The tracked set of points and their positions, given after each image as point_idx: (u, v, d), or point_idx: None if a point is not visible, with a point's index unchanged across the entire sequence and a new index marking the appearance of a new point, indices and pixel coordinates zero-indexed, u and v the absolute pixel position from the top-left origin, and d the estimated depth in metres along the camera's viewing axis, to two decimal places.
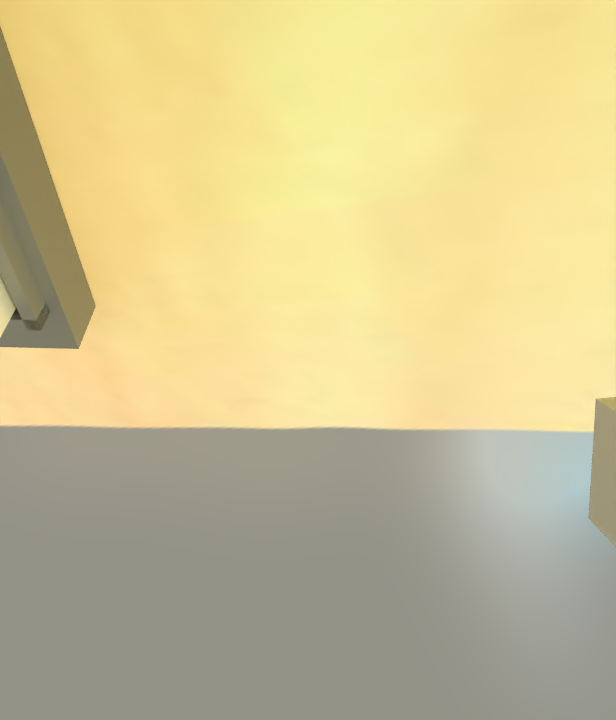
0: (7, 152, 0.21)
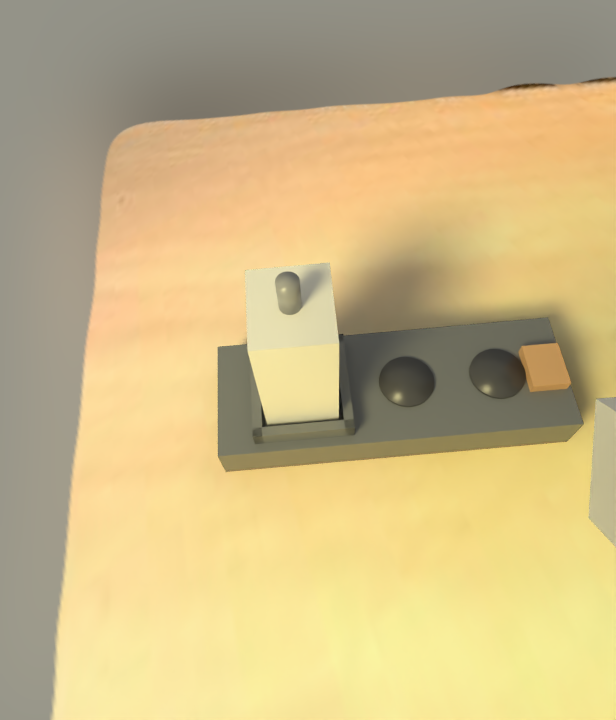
0: (370, 445, 0.37)
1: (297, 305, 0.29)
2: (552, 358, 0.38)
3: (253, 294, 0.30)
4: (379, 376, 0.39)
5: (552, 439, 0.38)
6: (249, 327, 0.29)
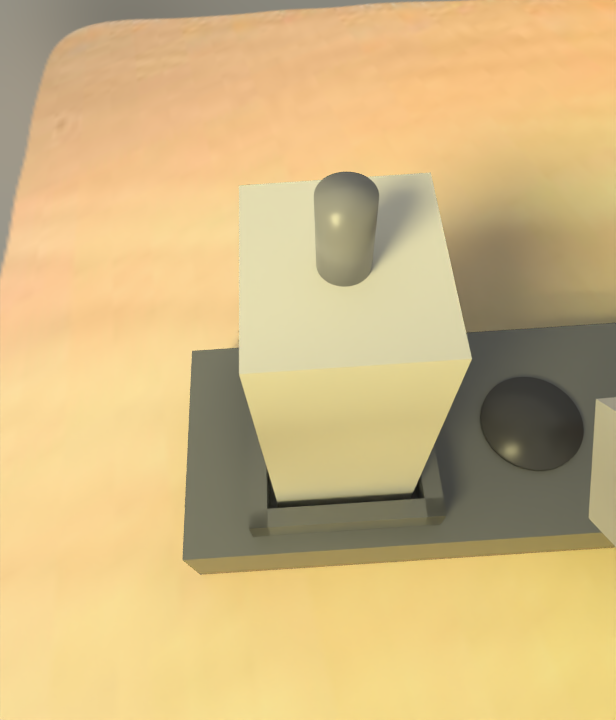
0: (469, 543, 0.20)
1: (365, 262, 0.12)
2: None
3: (257, 238, 0.13)
4: (480, 411, 0.21)
5: None
6: (245, 314, 0.12)
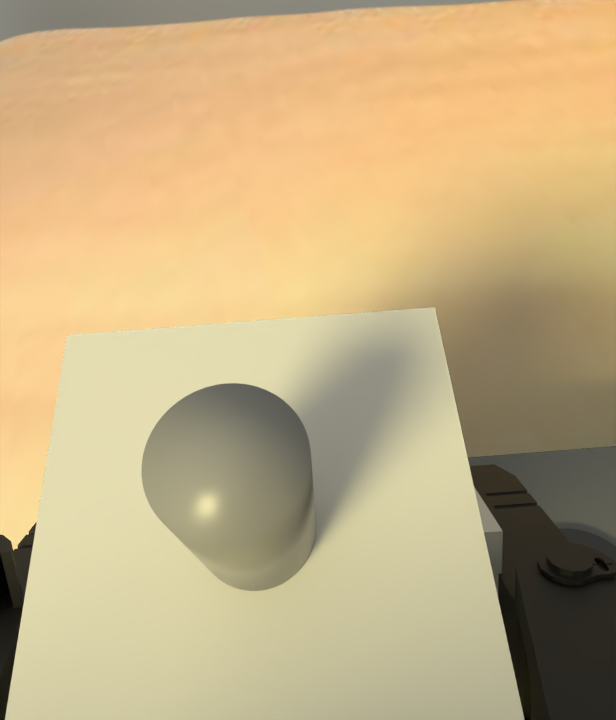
0: None
1: (293, 561, 0.05)
2: None
3: (83, 460, 0.06)
4: None
5: None
6: (26, 671, 0.05)
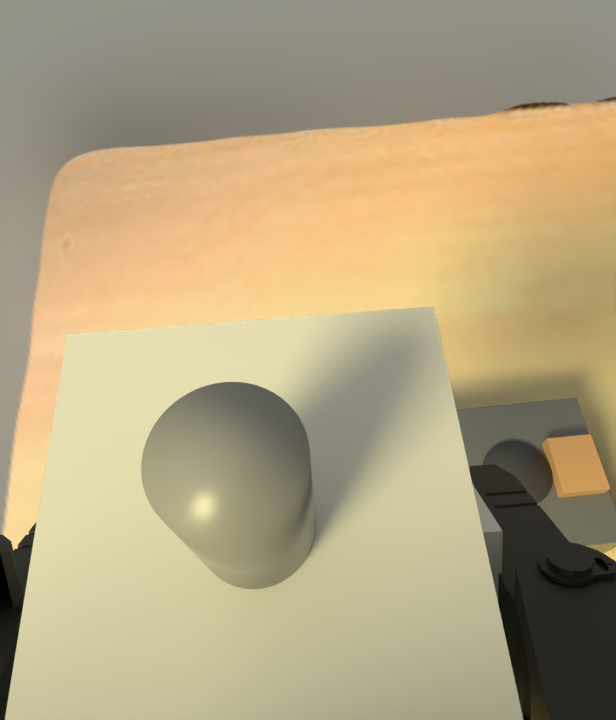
0: None
1: (292, 559, 0.05)
2: (585, 455, 0.31)
3: (84, 458, 0.06)
4: None
5: None
6: (27, 669, 0.05)
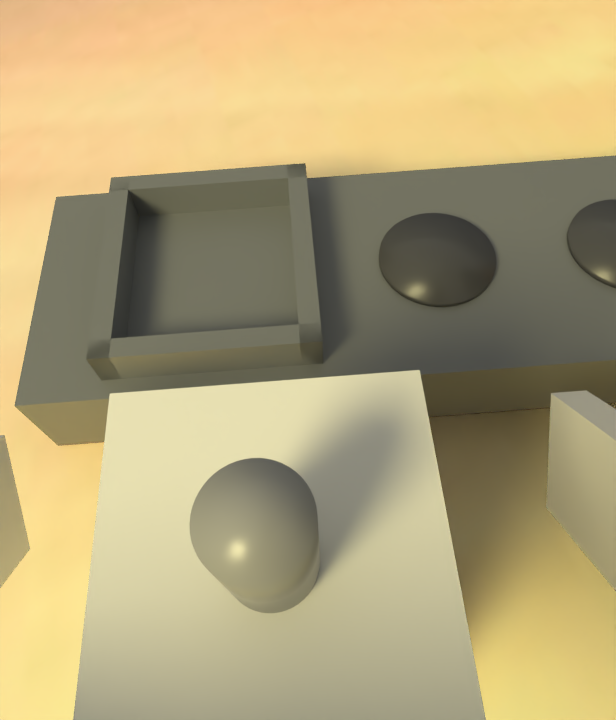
0: None
1: (302, 591, 0.06)
2: None
3: (128, 503, 0.08)
4: (379, 249, 0.18)
5: None
6: (89, 678, 0.07)
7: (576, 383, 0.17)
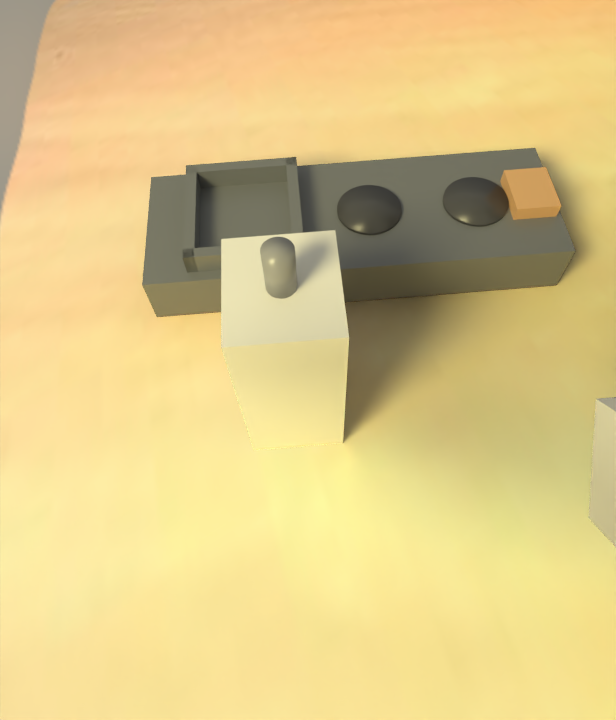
0: None
1: (291, 285, 0.21)
2: (539, 182, 0.32)
3: (232, 270, 0.22)
4: (337, 205, 0.33)
5: (538, 280, 0.33)
6: (224, 315, 0.21)
7: (444, 276, 0.32)
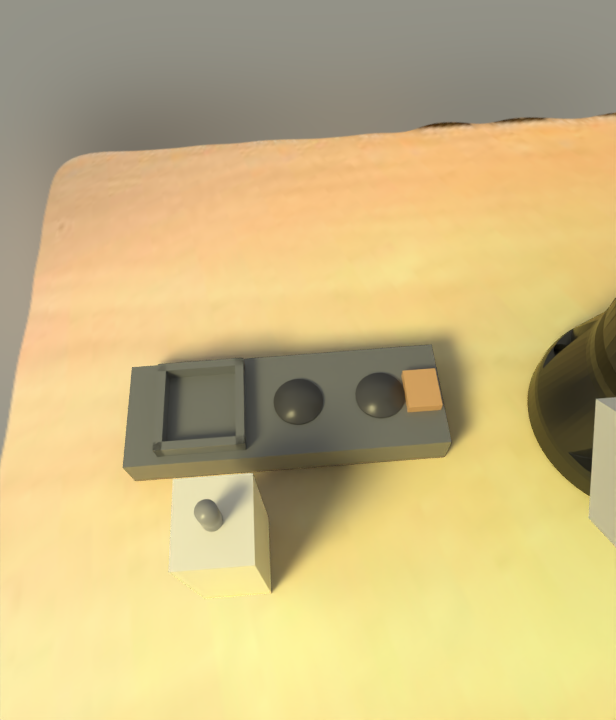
0: (260, 459, 0.41)
1: (217, 526, 0.31)
2: (428, 382, 0.42)
3: (178, 507, 0.32)
4: (274, 396, 0.43)
5: (429, 455, 0.43)
6: (172, 545, 0.31)
7: (354, 456, 0.42)
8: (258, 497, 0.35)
